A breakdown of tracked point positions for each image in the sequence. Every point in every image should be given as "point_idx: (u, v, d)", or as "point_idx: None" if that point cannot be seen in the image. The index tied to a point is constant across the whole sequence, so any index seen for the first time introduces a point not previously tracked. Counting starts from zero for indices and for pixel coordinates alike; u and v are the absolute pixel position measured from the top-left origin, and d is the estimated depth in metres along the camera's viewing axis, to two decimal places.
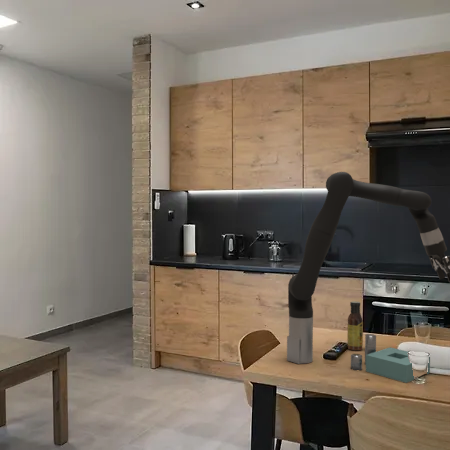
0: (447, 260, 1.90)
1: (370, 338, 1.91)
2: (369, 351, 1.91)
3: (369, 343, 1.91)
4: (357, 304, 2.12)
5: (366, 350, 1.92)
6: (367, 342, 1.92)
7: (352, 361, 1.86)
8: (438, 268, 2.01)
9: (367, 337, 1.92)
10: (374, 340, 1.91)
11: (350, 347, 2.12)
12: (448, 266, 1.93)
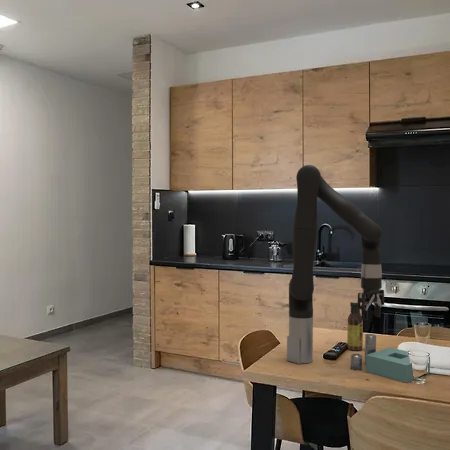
0: (360, 297, 1.88)
1: (370, 338, 1.91)
2: (369, 351, 1.91)
3: (369, 343, 1.91)
4: (357, 304, 2.12)
5: (366, 350, 1.92)
6: (367, 342, 1.92)
7: (352, 361, 1.86)
8: (376, 305, 1.95)
9: (367, 337, 1.92)
10: (374, 340, 1.91)
11: (350, 347, 2.12)
12: None
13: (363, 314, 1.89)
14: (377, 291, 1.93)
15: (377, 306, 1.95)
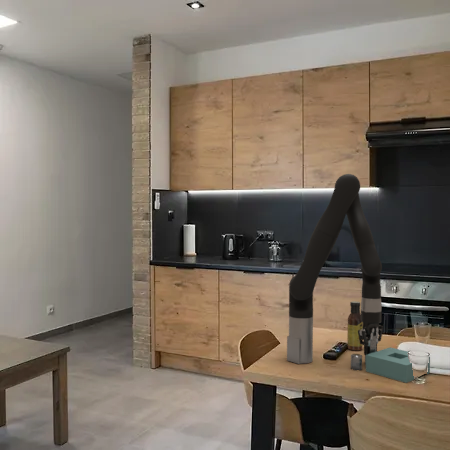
0: (361, 334, 1.89)
1: None
2: None
3: None
4: (357, 304, 2.12)
5: None
6: (367, 341, 1.92)
7: (352, 361, 1.86)
8: None
9: None
10: (374, 340, 1.91)
11: (350, 347, 2.12)
12: (368, 339, 1.91)
13: (366, 350, 1.91)
14: (377, 324, 1.94)
15: None
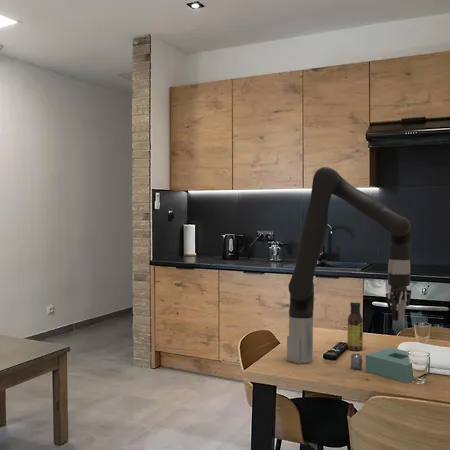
0: (389, 297, 1.79)
1: None
2: None
3: None
4: (357, 304, 2.12)
5: None
6: None
7: (352, 361, 1.86)
8: None
9: None
10: (403, 304, 1.81)
11: (350, 347, 2.12)
12: (396, 303, 1.81)
13: (394, 314, 1.81)
14: (405, 288, 1.84)
15: None
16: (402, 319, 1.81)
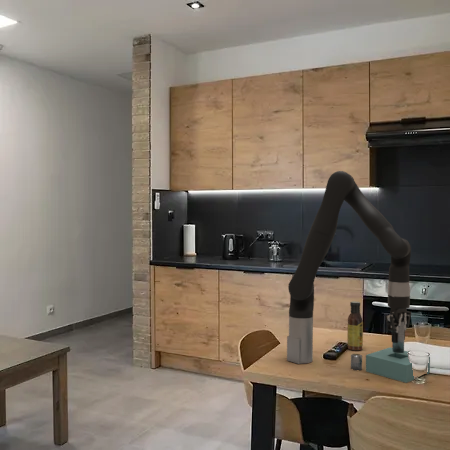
0: (388, 320, 1.79)
1: None
2: None
3: None
4: (357, 304, 2.12)
5: None
6: (395, 328, 1.82)
7: (352, 361, 1.86)
8: None
9: None
10: (402, 326, 1.81)
11: (350, 347, 2.12)
12: (396, 326, 1.81)
13: (393, 336, 1.81)
14: (405, 309, 1.84)
15: None
16: (402, 341, 1.81)
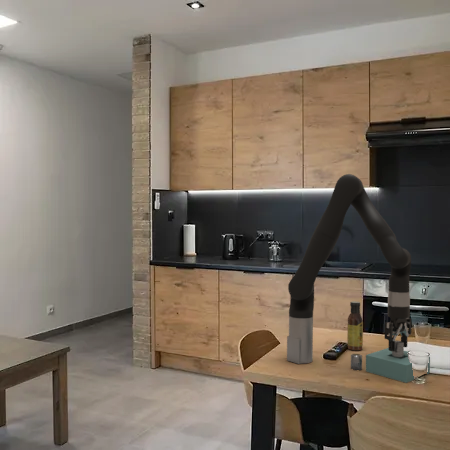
0: (387, 327, 1.79)
1: (397, 345, 1.81)
2: None
3: (396, 350, 1.82)
4: (357, 304, 2.12)
5: None
6: None
7: (352, 361, 1.86)
8: (403, 334, 1.86)
9: None
10: (402, 347, 1.82)
11: (350, 347, 2.12)
12: (394, 334, 1.80)
13: (390, 345, 1.80)
14: (404, 320, 1.84)
15: (404, 336, 1.86)
16: None
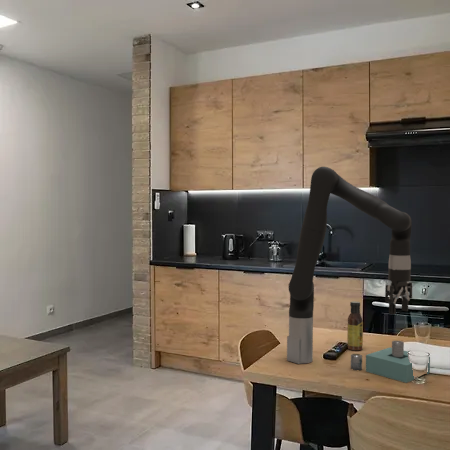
0: (388, 289, 1.78)
1: (397, 345, 1.81)
2: None
3: (396, 350, 1.82)
4: (357, 304, 2.12)
5: None
6: (394, 349, 1.82)
7: (352, 361, 1.86)
8: (404, 298, 1.86)
9: (394, 344, 1.82)
10: (402, 347, 1.82)
11: (350, 347, 2.12)
12: (394, 297, 1.80)
13: (391, 308, 1.79)
14: (405, 284, 1.83)
15: (405, 300, 1.85)
16: None
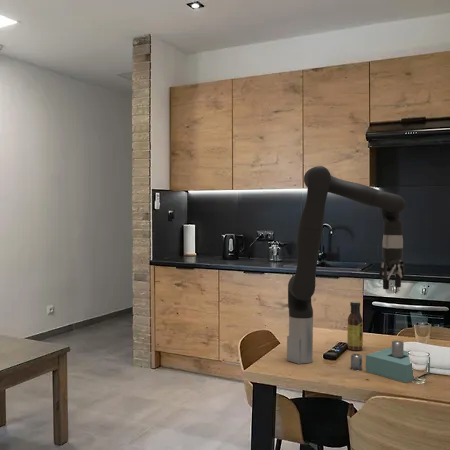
0: (382, 266, 1.93)
1: (397, 345, 1.81)
2: None
3: (396, 350, 1.82)
4: (357, 304, 2.12)
5: None
6: (394, 349, 1.82)
7: (352, 361, 1.86)
8: (397, 275, 2.01)
9: (394, 344, 1.82)
10: (401, 347, 1.82)
11: (350, 347, 2.12)
12: (388, 273, 1.95)
13: (385, 283, 1.94)
14: (398, 262, 1.99)
15: (398, 276, 2.01)
16: None
